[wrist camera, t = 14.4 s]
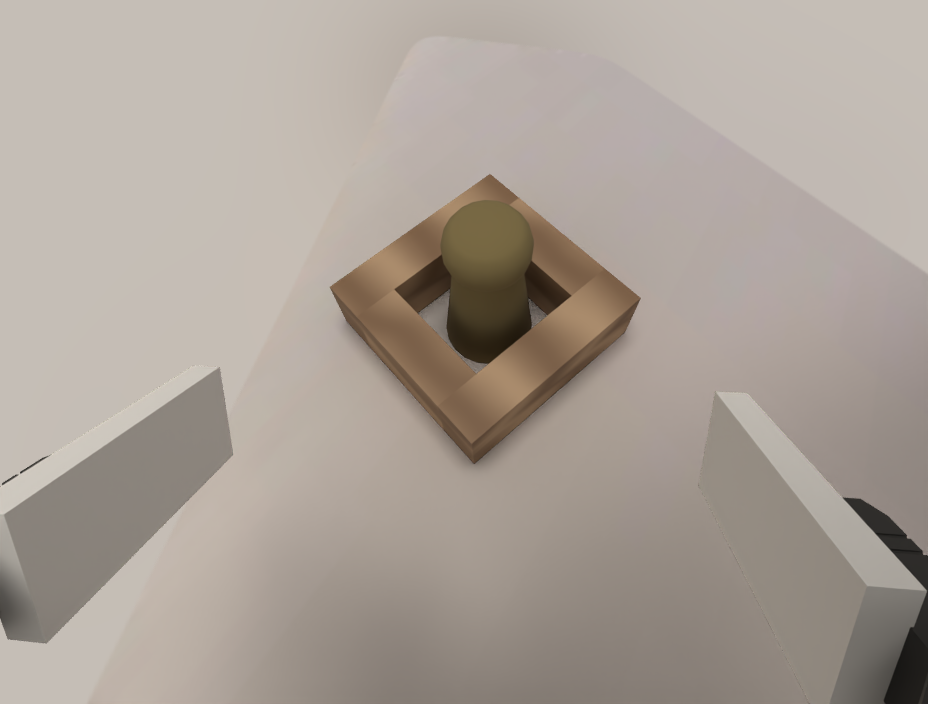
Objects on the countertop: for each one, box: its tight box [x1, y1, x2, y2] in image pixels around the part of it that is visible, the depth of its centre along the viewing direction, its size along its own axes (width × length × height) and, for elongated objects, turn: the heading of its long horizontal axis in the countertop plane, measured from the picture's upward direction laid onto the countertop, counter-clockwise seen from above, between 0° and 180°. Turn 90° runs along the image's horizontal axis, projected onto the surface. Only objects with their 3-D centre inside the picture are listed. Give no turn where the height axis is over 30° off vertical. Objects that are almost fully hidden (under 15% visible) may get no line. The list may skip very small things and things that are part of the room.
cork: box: [440, 200, 534, 364], centre depth 34 cm, size 6×6×11 cm
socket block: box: [330, 174, 641, 464], centre depth 37 cm, size 14×14×4 cm
